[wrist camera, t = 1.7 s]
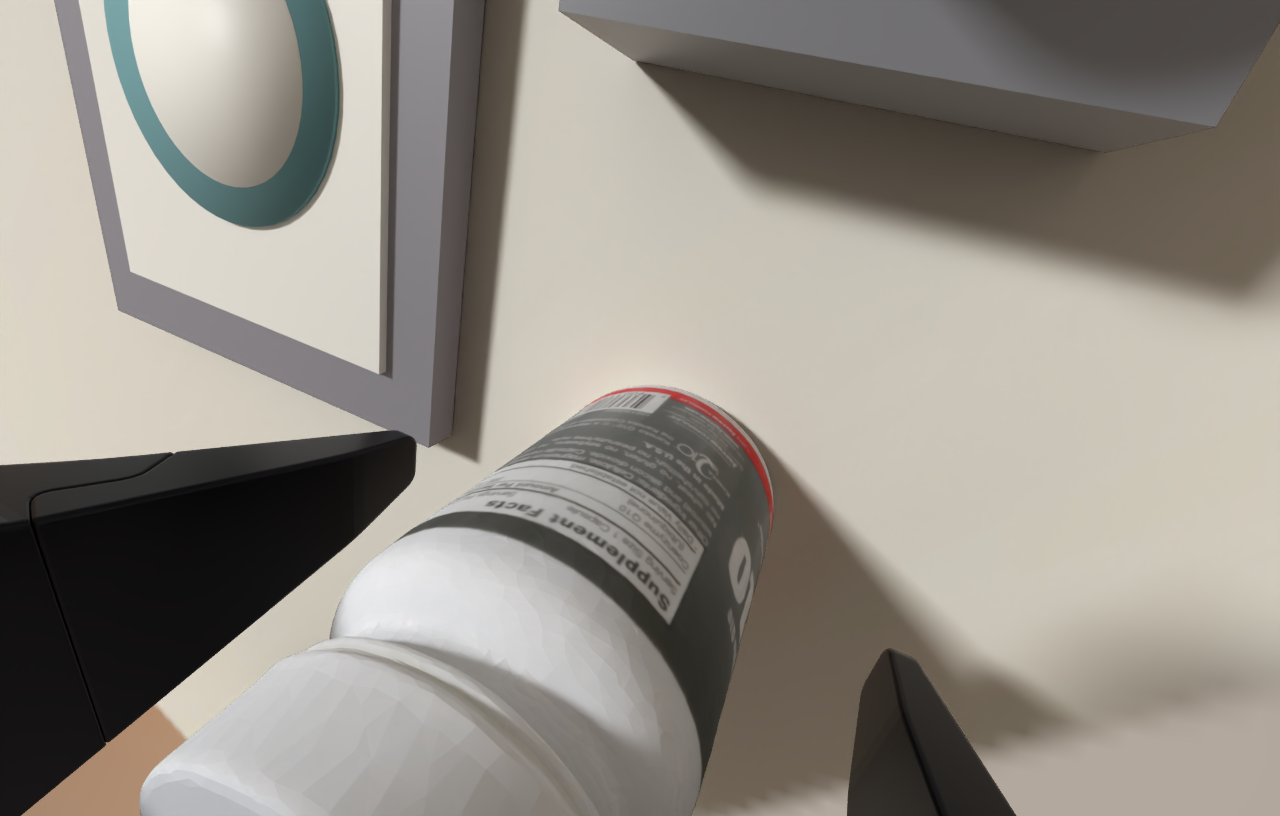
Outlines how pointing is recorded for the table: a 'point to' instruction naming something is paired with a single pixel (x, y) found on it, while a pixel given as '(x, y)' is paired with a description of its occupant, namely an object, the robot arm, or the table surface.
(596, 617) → the pill bottle
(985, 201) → the table surface
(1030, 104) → the button housing
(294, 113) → the grey flat plate
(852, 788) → the robot arm
